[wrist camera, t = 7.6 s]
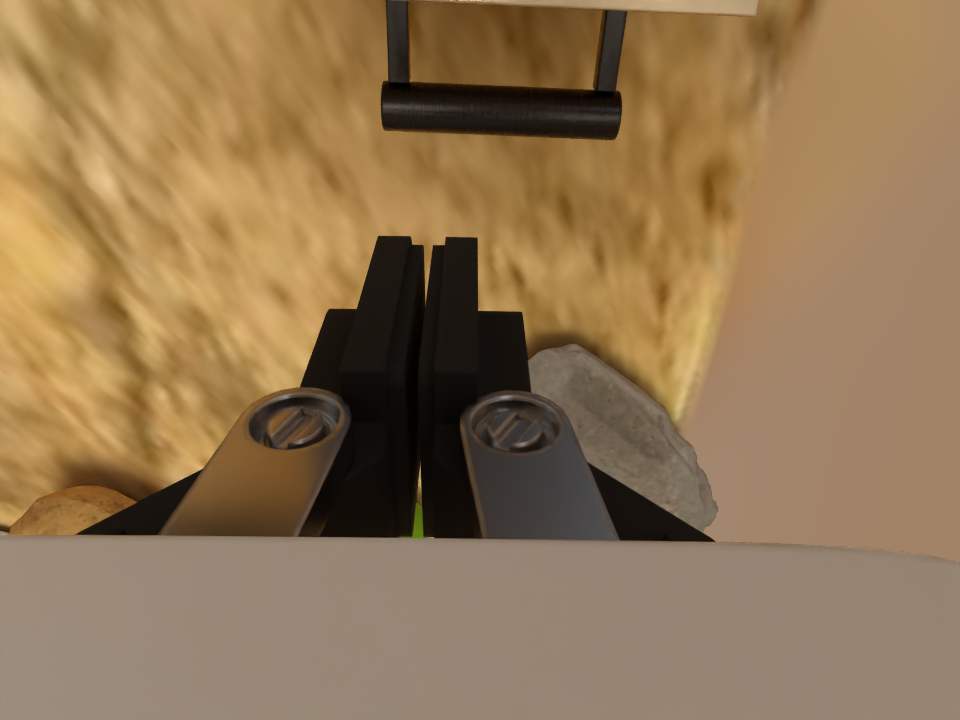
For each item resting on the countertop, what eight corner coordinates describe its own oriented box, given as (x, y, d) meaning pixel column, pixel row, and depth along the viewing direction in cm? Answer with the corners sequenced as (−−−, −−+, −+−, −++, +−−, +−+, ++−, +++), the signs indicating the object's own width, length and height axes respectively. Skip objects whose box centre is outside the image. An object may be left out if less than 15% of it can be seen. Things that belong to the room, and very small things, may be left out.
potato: (162, 598, 41) (117, 699, 36) (19, 479, 36) (-58, 578, 30) (252, 566, 40) (219, 666, 34) (118, 436, 34) (53, 533, 29)
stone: (407, 469, 33) (538, 332, 28) (416, 431, 35) (538, 299, 31) (625, 596, 37) (772, 495, 32) (620, 554, 39) (756, 455, 35)
